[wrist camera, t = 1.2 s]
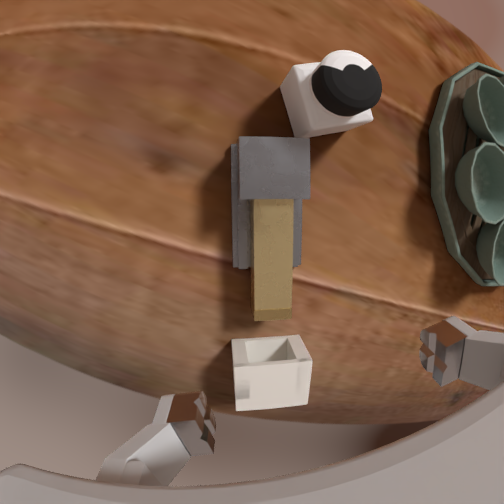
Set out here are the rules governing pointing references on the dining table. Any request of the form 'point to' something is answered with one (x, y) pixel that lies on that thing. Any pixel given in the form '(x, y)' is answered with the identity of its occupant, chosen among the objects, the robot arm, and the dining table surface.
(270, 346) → the socket
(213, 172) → the dining table surface
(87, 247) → the dining table surface
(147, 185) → the dining table surface
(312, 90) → the medicine bottle
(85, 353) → the dining table surface
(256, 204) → the olive rectangular bar
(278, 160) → the sleeve
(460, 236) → the tea set
